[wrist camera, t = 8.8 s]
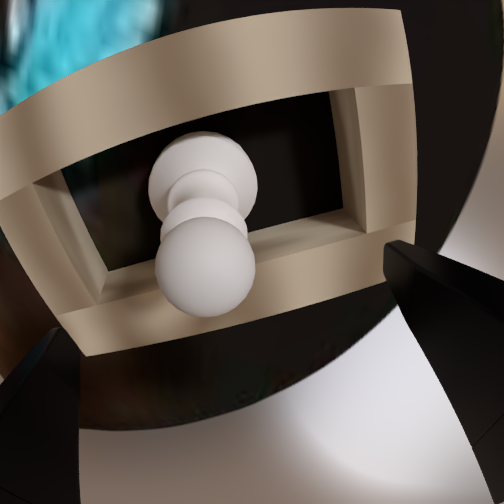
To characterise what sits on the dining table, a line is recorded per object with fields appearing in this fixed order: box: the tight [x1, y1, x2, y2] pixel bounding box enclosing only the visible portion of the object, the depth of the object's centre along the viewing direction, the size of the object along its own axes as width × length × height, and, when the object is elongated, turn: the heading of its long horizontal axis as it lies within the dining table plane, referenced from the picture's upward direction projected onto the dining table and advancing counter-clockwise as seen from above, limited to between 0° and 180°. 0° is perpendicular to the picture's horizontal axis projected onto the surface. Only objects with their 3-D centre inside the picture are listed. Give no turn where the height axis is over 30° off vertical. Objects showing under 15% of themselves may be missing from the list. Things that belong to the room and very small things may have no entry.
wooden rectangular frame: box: [0, 8, 417, 356], centre depth 14 cm, size 20×14×3 cm
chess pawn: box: [148, 131, 257, 317], centre depth 11 cm, size 5×5×9 cm
